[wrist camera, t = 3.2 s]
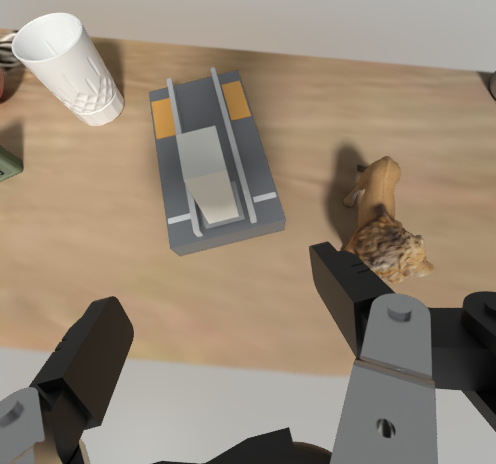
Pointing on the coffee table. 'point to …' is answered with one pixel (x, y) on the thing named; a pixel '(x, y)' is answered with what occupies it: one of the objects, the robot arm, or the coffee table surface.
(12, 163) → the handheld radio
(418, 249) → the lion figurine
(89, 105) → the white cup
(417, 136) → the coffee table surface
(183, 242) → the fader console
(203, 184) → the fader knob
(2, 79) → the decorative fruit
